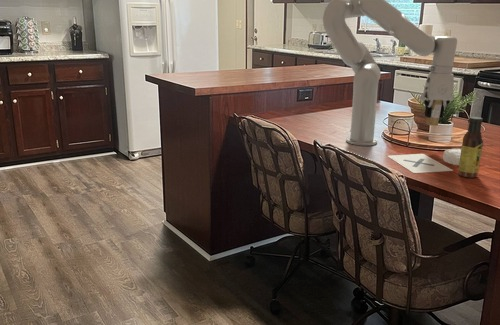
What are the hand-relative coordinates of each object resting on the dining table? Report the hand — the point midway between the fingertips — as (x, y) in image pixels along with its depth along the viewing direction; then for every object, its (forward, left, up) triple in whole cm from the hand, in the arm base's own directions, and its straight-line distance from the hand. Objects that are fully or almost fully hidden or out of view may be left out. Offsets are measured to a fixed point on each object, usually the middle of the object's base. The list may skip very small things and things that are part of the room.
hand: (433, 116), depth 191 cm
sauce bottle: (+32, -5, -13) cm, 35 cm away
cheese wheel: (+17, +2, -14) cm, 22 cm away
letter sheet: (+16, -14, -13) cm, 25 cm away
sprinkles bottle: (0, 0, -4) cm, 4 cm away
